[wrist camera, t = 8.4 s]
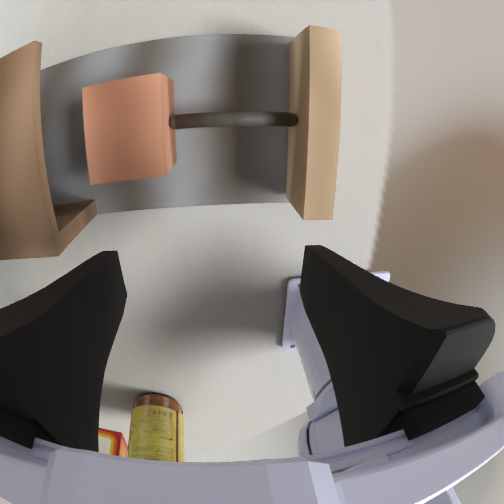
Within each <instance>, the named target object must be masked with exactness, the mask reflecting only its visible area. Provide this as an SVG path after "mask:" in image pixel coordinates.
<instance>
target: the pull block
mask: <svg viewBox="0 0 504 504" xmlns="http://www.w3.org/2000/svg"><path fill="white" fill-rule="evenodd" d="M341 81H342V51H341V31H340V30H335V29H330V28H324V27H318V26H312V25H309V26H308V27H307V28H305V29H304V30H303V31H302V32H301V33H299V34H298V35H297V36H296V37H295V38H294V39H293V40H291V41H290V42H289V112H263V111H235V112H207V113H191V114H178V115H175V109H174V81H173V80H171V79H170V78H168V77H167V76H165V75H164V74H162V73H155V74H148V75H141V76H135V77H129V78H124V79H119V80H114V81H109V82H105V83H100V84H96V85H92V86H88V87H84V88H82V95H83V119H84V134H85V145H86V154H87V163H88V171H89V178H90V185H94V184H101V183H109V182H117V181H125V180H134V179H143V178H154V177H165V176H166V175H167V174H168V173H169V171H170V170H171V169H172V167H173V166H174V165H175V164H176V162H177V156H176V136H175V129H187V128H202V127H225V126H284V127H288V159H287V185H286V198H287V199H288V200H289V202H290V203H291V204H292V206H293V207H294V208H295V210H296V211H297V212H298V214H299V215H300V216H301V218H302V219H303V220H332V217H333V208H334V198H335V188H336V177H337V166H338V152H339V137H340V117H341Z"/></svg>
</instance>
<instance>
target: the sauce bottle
mask: <svg viewBox="0 0 504 504" xmlns="http://www.w3.org/2000/svg"><path fill="white" fill-rule="evenodd" d="M182 414H183V411H182V408H181V406H180V405H179V403H178V402H177V401H175V400H174V399H172V398H170V397H167V396H164V395H159V394H145V395H142V396H139V397H138V398H136V400H135V402H134V407H133V410H132V414H131V424H130V433H129V443H128V457H129V458H137V459H146V460H157V461H170V462H184V432H183V416H182Z"/></svg>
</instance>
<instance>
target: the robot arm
mask: <svg viewBox="0 0 504 504" xmlns="http://www.w3.org/2000/svg"><path fill="white" fill-rule="evenodd" d="M389 279H390V273H389V272H388V271H376V272H368V271H366V270H364V269H362V268H360V267H359V266H357V265H355V264H353V263H352V262H350V261H348V260H347V259H345V258H343V257H342V256H340V255H338V254H337V253H335V252H333V251H331V250H329V249H328V248H326V247H323V246H321V245H306V246H305V251H304V259H303V267H302V274H301V278H294V279H291V280H290V281H289V282H288V285H287V296H286V307H285V318H284V328H283V338H282V348H283V349H284V350H292V349H298V352H299V355H300V359H301V362H302V365H303V368H304V371H305V374H306V378H307V381H308V384H309V387H310V390H311V393H312V397H313V400H314V402H313V403H312V404H311V405H309V406H307V407H306V409H307V412H308V416H309V419H310V420H309V421H307V422H305V423H304V424H303V425H302V427H301V429H300V432H299V439H298V454H299V457H296V458H284V459H264V460H252V461H238V462H215V463H214V462H211V463H210V462H209V463H208V462H206V463H201V462H170V461H157V460H146V459H137V458H129V457H122V456H116V455H110V454H104V453H99V443H98V428H99V409H100V399H101V391H102V384H103V378H104V372H105V368H106V364H107V360H108V357H109V354H110V351H111V348H112V345H113V342H114V339H115V336H116V333H117V331H118V328H119V325H120V322H121V319H122V316H123V312H124V308H125V303H126V298H127V292H126V288H125V284H124V280H123V275H122V271H121V266H120V262H119V257H118V252H117V251H103V252H100V253H98V254H96V255H94V256H93V257H91V258H90V259H88V260H86V261H85V262H83V263H82V264H80V265H79V266H77V267H76V268H74V269H73V270H71V271H70V272H68V273H67V274H65V275H64V276H62V277H60V278H59V279H57V280H56V281H54V282H53V283H51V284H49V285H48V286H46V287H45V288H43V289H41V290H39V291H37V292H36V293H34V294H32V295H30V296H28V297H26V298H24V299H22V300H20V301H17V302H15V303H13V304H11V305H9V306H6V307H4V308H1V309H0V497H2V498H4V499H5V500H7V501H9V502H11V503H12V504H461V503H460V501H459V499H458V497H457V495H456V493H455V491H454V489H453V487H452V486H454V485H455V484H457V483H458V482H460V481H461V480H463V479H464V478H466V477H467V476H469V475H470V474H471V473H473V472H474V471H476V470H477V469H478V468H480V467H481V466H482V465H483V464H485V463H486V462H488V461H489V460H490V459H491V458H493V457H494V456H495V455H496V454H498V453H499V452H500V451H501V450H502V449H503V448H504V372H500V373H498V374H496V375H495V376H493V377H491V378H490V379H488V380H486V381H485V382H484V383H482V385H480V386H478V385H477V383H476V382H475V380H476V379H477V378H478V373H477V372H476V370H475V369H474V368H475V366H476V365H477V363H478V362H479V360H480V359H481V358H482V356H483V354H484V353H485V351H486V350H487V348H488V347H489V345H490V343H491V341H492V339H493V336H494V333H495V322H494V320H493V319H492V318H491V317H490V316H489V315H488V314H487V312H486V311H485V310H483V309H482V308H478V307H471V306H466V305H459V304H454V303H449V302H445V301H441V300H437V299H433V298H430V297H426V296H423V295H420V294H417V293H414V292H411V291H409V290H406V289H403V288H401V287H399V286H396V285H394V284H392V283H389ZM299 283H300V286H298V284H299ZM293 344H294V345H293Z"/></svg>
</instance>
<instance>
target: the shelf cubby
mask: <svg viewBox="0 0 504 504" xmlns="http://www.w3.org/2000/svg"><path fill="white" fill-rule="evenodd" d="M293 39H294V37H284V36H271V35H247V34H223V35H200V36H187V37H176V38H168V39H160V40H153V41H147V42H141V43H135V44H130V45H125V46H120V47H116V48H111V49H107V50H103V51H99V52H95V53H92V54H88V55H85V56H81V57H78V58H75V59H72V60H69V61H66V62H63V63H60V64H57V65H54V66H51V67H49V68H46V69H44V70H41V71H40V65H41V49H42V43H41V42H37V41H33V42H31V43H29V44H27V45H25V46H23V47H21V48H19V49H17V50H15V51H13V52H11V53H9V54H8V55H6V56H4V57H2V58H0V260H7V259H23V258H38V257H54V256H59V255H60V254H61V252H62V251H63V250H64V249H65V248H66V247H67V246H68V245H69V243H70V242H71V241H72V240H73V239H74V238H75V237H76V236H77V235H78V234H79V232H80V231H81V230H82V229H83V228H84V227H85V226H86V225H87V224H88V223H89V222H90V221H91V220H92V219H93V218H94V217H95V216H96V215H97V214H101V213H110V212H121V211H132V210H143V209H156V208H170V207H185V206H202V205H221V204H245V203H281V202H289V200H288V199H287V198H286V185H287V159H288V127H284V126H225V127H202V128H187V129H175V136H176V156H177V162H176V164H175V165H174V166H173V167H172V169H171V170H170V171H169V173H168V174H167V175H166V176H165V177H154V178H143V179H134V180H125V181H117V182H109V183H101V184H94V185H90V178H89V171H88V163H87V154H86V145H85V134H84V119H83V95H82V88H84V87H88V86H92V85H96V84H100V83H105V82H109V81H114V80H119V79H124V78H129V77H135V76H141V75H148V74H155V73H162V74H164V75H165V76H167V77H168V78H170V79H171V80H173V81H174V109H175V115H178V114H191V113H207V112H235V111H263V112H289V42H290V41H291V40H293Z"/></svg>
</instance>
